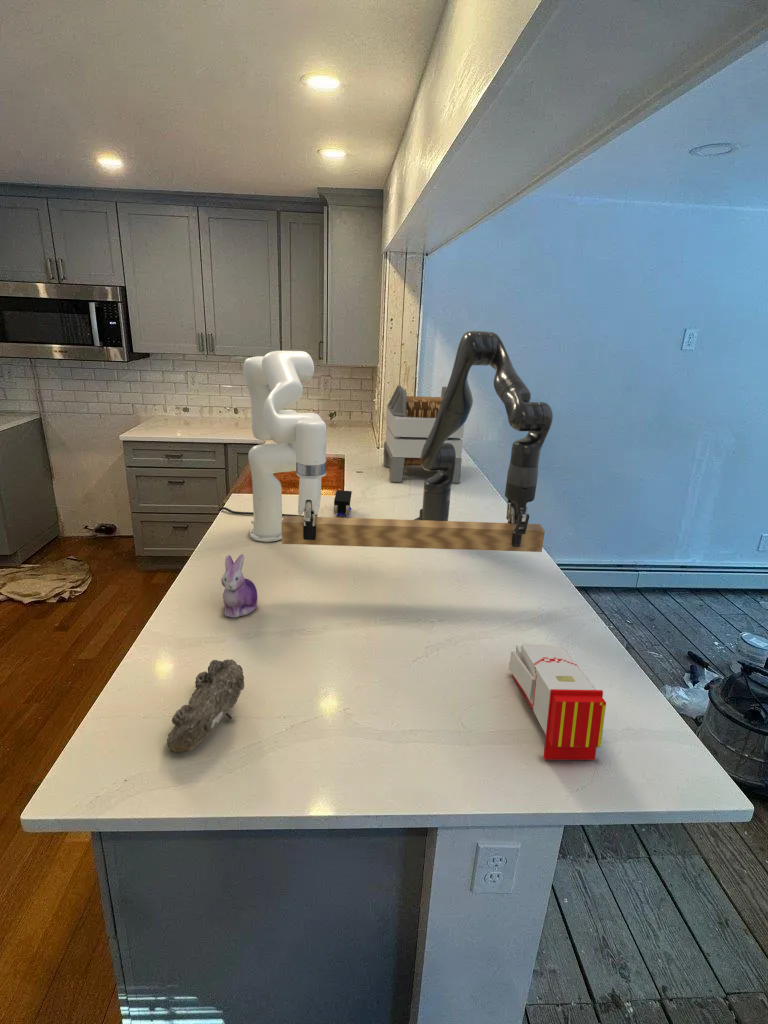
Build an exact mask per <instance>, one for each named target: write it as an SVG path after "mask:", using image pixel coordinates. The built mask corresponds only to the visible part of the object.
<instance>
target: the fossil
mask: <svg viewBox="0 0 768 1024" xmlns="http://www.w3.org/2000/svg"><path fill="white" fill-rule="evenodd" d="M243 670H244V669H243V667H242V665H240V664H237V662H236V661H235V660H234V659H232V658H231V659H227V658H226V659H224V660H223V661H222V660H217V659H212V660H211V661H210V663H209V665H208V666H207V671H201V672H199V673H198V674H197V675H196V676H195V680H194V684H195V685H194V687H195V689H194V690H193V693H192V694H191V697H190V698H189V700H188V704H184V705H182V706H181V707H180V709H177V710H176V711H175V713H174V715H173V716H172V718H171V723H172V724H173V727H172V730H171V731H170V732H168V734H167V738H166V741H167V742H166V745H167V749H168V750H169V751H173V752H174V753H176V754H178V753H182V752H188V751H189V752H192V751H193V750H195V748H196V747H197V746H199V744H200V743H201V742H203V741H204V740H205V739H206V738H207V737H208V736H209V735H210V734H211V733H212V732H214V730H215V729H217V727H218V726H219V724H220V722H221V721H222V720H223V719H224V718H225V716H226V717H227V719H229V720H233V717H232V715H230V714H229V710H230V709H231V708H234V706H235V704H236V703H237V702H238V699H239V697H240V695H241V693H242V691H243V690H245V689H244V688H245V675H244V671H243Z"/></svg>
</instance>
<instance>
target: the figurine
mask: <svg viewBox="0 0 768 1024" xmlns="http://www.w3.org/2000/svg"><path fill="white" fill-rule="evenodd" d="M224 562H225V563H224V564H225V565H224V569H225V570H224V573H223V574H222V577H221V579H220V580H221V585H222V587H223V588H224V589H223V592H222V600H223V604H224V611H223V613H224V616H225V617H229V618H239V617H243V616H247V615H249V614H251V613H253V612H254V611H256V609H257V607H258V590H257V587H256V584H255V583H254V582H253V580H250V579H248V578H245V576H244V574H243V572H242V569H243V566H244V563H245V555H244V553H243V554H242V553H241V554H240V555H239V556H238V557H237V558H236V560H235V561H234V560H233V558H232V555H230V554H229V555H226V557H225V560H224Z"/></svg>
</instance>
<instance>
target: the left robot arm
mask: <svg viewBox="0 0 768 1024" xmlns="http://www.w3.org/2000/svg"><path fill="white" fill-rule="evenodd" d="M242 374H243V378H244V383H245V385H246V387H247V390H248V393H249V396H250V413H251V415H250V416H251V417H250V419H251V431H252V435H253V437H254V438H255V439H256V440H258V441H273V443H262V444H256V445H254V446H252V447H251V448H250V449H249V451H248V453H247V454H248V455H247V458H248V464H249V468H250V475H251V485H252V486H251V487H252V510H253V511H252V512H253V514H254V515H253V519H251V520H250V523H251V524H253V528H252V529H251V530H250V531H249V538H250V539H252V540H253V541H257V542H262V543H263V542H265V543H270V542H271V543H272V542H277V541H282V520H283V516H282V514H283V489H282V483H281V482H280V480H279V479H278V478H277V477H276V476H275V475H274V474H278V473H291V472H295V475H296V476H297V477H299V480H298V501H297V502H298V505H297V508H298V509H297V515H304V525H303V539H304V540H315V539H316V525H315V517H319V516H318V514H319V509H320V506H321V499H322V478H323V477H325V476H327V424H326V422H325V421H324V420H323V419H322V418H321V416H320V415H319V414H318V413H316V412H298V411H296V410H295V409H286V408H288V407H290V406H292V405H294V404H296V403H297V402H298V401H299V400H301V398H302V396H303V394H304V387H303V384H305V383H308V382H310V381H311V380H312V379H313V377H314V375H315V364H314V361H313V358H312V357H311V355H310V354H309V353H308V352H306V351H304V350H273V351H270V352H268V353H266V354H265V355H258V356H251V357H248V358H247V359H245V360H244V362H243V365H242ZM311 517H313V521H312V518H311Z"/></svg>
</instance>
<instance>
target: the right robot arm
mask: <svg viewBox="0 0 768 1024" xmlns="http://www.w3.org/2000/svg"><path fill="white" fill-rule="evenodd" d="M503 342H504V341H503V340H502V339H501V337H500V336H499V335H498V334H497V333H496V332H492V331H483V330H468V331H466V332H465V333H464V334H463V335H462V336H461V338H460V340H459V343H458V347H457V351H456V355H455V358H454V363H453V367H452V371H451V374H450V378H449V379H448V383H447V386H446V387H447V389H446V391H445V394H444V396H443V399H442V402H441V405H440V407H439V411H438V414H437V417H436V420H435V422H434V425H433V427H432V430H431V432H430V434H429V436H428V438H427V440H426V442H425V444H424V446H423V449H422V452H421V465H422V466H421V467H422V469H423V470H424V471H427V472H436V473H435V474H434V475H432V476H430V477H428V478H427V479H425V480H424V482H423V493H422V496H423V497H422V506H421V508H420V509H419V516H418V517H416V518H414V519H413V520H429V521H449V517H450V516H449V514H450V504H451V494H452V493H451V491H452V486H453V484H454V483H453V476H454V469H455V462H456V452H455V448H454V446H453V445H452V444H451V443H444V442H445V441H446V439H447V438H449V437H450V436H451V435H452V434H453V433H455V432H456V431H457V430H458V429H459V428H460V427H461V426H462V425H463V424H464V425H465V423H466V421H467V420H468V417H469V415H470V413H471V410H472V407H473V403H474V398H473V395H472V390H471V388H470V385H469V380H468V377H469V373H470V370H471V368H472V367H473V366H484V367H486V366H487V367H488V366H490V367H491V368H493V370H494V371H495V373H494V377H493V387H494V391H495V394H496V395H497V396H498V398H499V399H500V401H501V402H502V404H503V405H504V408H505V413H506V416H507V422H508V424H509V426H510V427H511V428H512V429H513V430H514V431H517V432H527V435H525V436H524V437H522V438H519V439H516V440H514V442H513V443H512V445H511V451H510V452H511V453H510V458H509V459H510V460H509V466H508V468H507V474H506V475H507V476H506V483H505V490H504V497H505V498H506V499H507V506H506V520H507V523H512V524H513V536H512V544H511V545H512V546H513V547H520V545H521V538H522V534H525V533H526V529H527V525H528V524H529V520H530V514H528V507H527V504H529V503H532V502H533V501H534V500H535V498H536V492H537V485H538V478H539V464H540V458H541V457H540V456H541V450H542V448H543V445H544V444H545V441H546V438H547V436H548V434H549V432H550V429H551V427H552V424H553V418H554V414H553V413H554V412H553V409H552V407H551V406H550V404H549V403H547V402H544V401H531V399H532V393H531V391H530V389H529V387H528V386H527V385H526V383H525V382H524V381H523V380H522V378H521V377H520V375H519V374H518V373H517V371H516V370H515V368H514V365H513V363H512V361H511V357H510V356H509V354H508V352H507V350H506V347H505V345H504V343H503ZM223 510H225V511H227V512H229V513H230V514H234V515H246V516H247V515H249V516H254V514H253V511H252V512H251V511H236V510H233V509H230V508H228V507H226V506H221V507H220V508H219V509H218V510H217V511H218V512H221V511H223ZM284 516H304V514H301V515H299V514H291V513H289V514H288V513H287V514H286V513H282V517H284ZM519 527H521V529H519Z"/></svg>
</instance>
